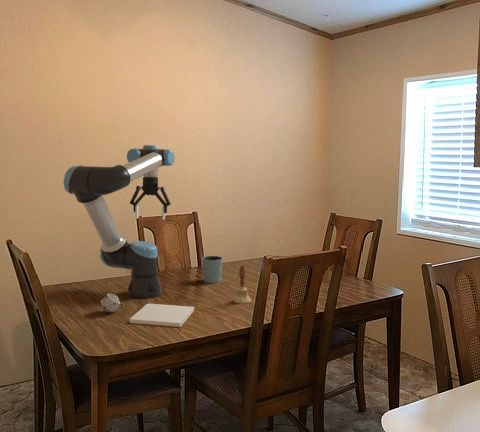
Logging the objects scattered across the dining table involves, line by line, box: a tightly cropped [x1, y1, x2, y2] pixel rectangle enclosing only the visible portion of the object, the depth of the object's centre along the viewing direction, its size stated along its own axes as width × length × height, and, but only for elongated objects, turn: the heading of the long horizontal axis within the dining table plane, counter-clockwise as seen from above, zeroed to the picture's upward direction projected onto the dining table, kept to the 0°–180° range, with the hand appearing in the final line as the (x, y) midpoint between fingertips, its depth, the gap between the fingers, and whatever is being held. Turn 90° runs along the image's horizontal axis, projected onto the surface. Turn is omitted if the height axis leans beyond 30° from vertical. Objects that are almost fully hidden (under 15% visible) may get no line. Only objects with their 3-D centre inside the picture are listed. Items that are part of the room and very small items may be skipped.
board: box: [128, 303, 195, 328], centre depth 200 cm, size 20×20×2 cm
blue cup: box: [201, 255, 224, 284], centre depth 254 cm, size 10×10×12 cm
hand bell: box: [232, 264, 252, 305], centre depth 222 cm, size 8×8×16 cm
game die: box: [97, 291, 124, 315], centre depth 204 cm, size 9×8×10 cm
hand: (150, 219), depth 254 cm, fingers open, 13 cm apart
